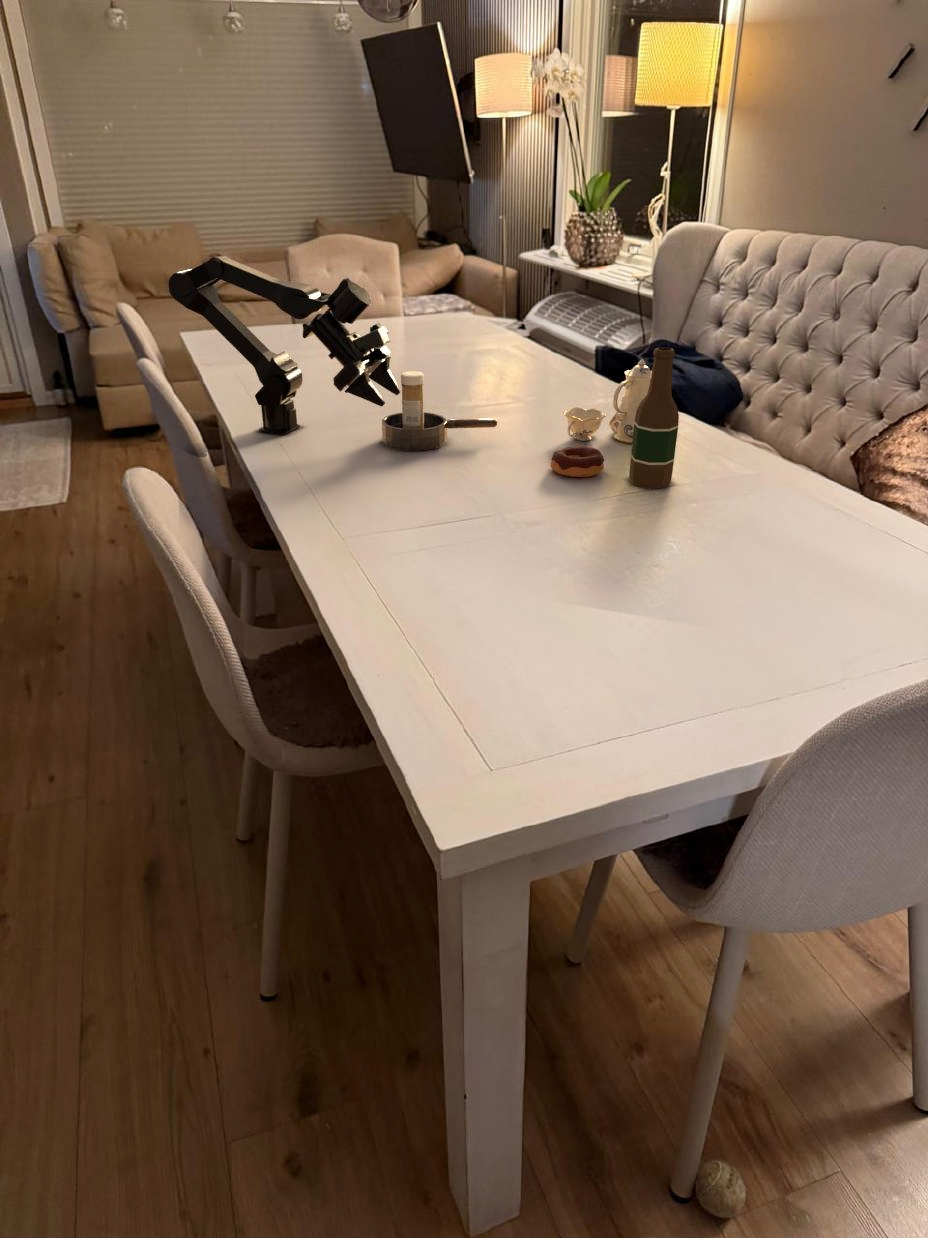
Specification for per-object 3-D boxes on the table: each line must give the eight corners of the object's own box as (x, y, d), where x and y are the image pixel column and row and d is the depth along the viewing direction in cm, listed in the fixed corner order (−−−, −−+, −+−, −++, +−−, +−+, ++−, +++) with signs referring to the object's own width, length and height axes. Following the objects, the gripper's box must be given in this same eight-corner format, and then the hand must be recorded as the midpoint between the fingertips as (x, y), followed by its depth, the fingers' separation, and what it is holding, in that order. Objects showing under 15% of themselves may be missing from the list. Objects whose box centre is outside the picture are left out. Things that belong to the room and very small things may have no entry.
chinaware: (632, 421, 205) (632, 346, 198) (695, 429, 194) (698, 349, 187) (552, 447, 188) (550, 365, 181) (617, 457, 177) (617, 371, 170)
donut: (543, 476, 167) (544, 455, 165) (557, 460, 175) (558, 440, 173) (597, 482, 164) (598, 461, 162) (608, 466, 172) (610, 446, 170)
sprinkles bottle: (428, 437, 186) (427, 371, 180) (418, 443, 182) (417, 376, 176) (408, 434, 187) (406, 369, 181) (398, 440, 184) (396, 374, 177)
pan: (383, 452, 179) (382, 430, 177) (381, 433, 190) (380, 412, 188) (449, 450, 180) (449, 428, 178) (443, 431, 192) (443, 410, 189)
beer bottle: (673, 477, 167) (690, 345, 156) (668, 491, 160) (685, 354, 149) (632, 472, 169) (645, 342, 158) (624, 486, 163) (638, 351, 151)
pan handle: (445, 429, 184) (445, 420, 183) (444, 427, 185) (444, 418, 184) (497, 428, 185) (498, 419, 184) (496, 425, 186) (496, 417, 186)
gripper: (345, 320, 167) (402, 384, 170) (380, 304, 183) (431, 363, 186) (309, 359, 173) (365, 421, 176) (346, 341, 189) (396, 397, 192)
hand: (391, 399), depth 182 cm, fingers open, 9 cm apart
